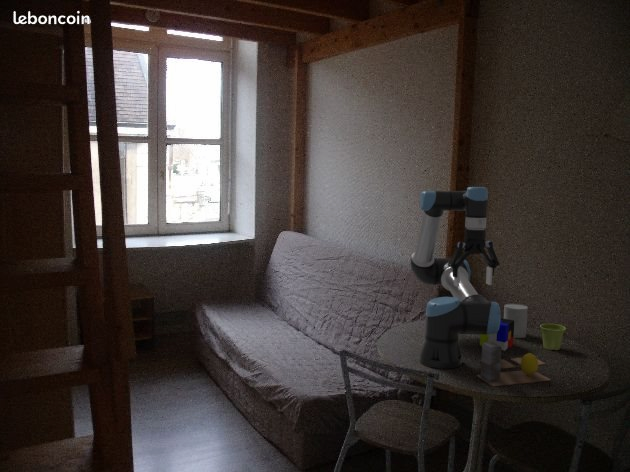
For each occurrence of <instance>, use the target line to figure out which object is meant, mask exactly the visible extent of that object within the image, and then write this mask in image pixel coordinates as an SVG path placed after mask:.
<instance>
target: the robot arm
mask: <svg viewBox="0 0 630 472" xmlns="http://www.w3.org/2000/svg"><path fill="white" fill-rule="evenodd" d="M488 192H489V191H488V188H487V187H486V186H485V187H484V186H469V187H467V188H466V190H424V191H422V192H421V193H420V197H419V207H420V210H422V211H423V212H422V216H421V221H420V227H419V232H418V236H417V240H416V244H415V245H416V246H415V251H414V252H413V253H412V254H411V257H410V268H411V271H412V274H413V275H414V276H415V278H416V279H417V280H419V281H418V282H421V283H422V284H425V285H428V286H442V287H443V288H444V289H446V290H447V291H449V292H450V294H451V295H452V296H441V297H439V296H438V297H434V298H432V299H430V300H429V301H428V302H427V303H426V308H425V329H424V330H425V332H424V333H425V335H424V342H423V344H422V346H421V349H420V350H421V351H420V353H419V362H420V363H421V364H422V365H424V366H427V367H430V368H436V369H455V368H459V367H461V366H462V364H463V356H462V353H461V349H460V345H459V335H480V334H487V335H488V334H496V333H497V332H498V330H499V327H500V320H501V318H502V317H501V308H500V304H499V302H497V301H488V299H487V298H486V297H485V296H483V295H481V294H479V293H478V292H477V290H476V289H475V287H474V286H473V285H472V283H471V282H470V280H471V267H470V265H469V262H468V261H467V260H466V259H467V257H468V256H470V255H475V254H476V255H480V256H481V257H482V258H483V260H484V262H485V263H486V264H487V266H486V275H485V284H486V285H488V286H492V285H493V276H494V275H495V269H496V268H497V266H500V262H499V259H498V257H497V255H496V252H495V249H494V243H493V241H490V240H486V236H487V231H486V229H487V215H488V200H489V193H488ZM444 211H446V212H447V211H462V212H463V211H464V212H465V221H464V227H465V229H464V242H462V241H457V242H456V247H455V249H454V251H453V254H452V255H451V257H450V258H448V257H446V258H445V257H444V258H443V257H434V253H435V249H436V244H437V240H438V237H439V232H440V227H441V223H442V220H443V214H444ZM485 247H486V249H485ZM486 250H487V251H486ZM487 253H488V254H487Z"/></svg>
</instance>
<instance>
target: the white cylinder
mask: <svg viewBox="0 0 630 472" xmlns="http://www.w3.org/2000/svg"><path fill="white" fill-rule="evenodd" d="M503 307H504V308H503V309H504V310H503V319H509V320H515V321H514V338H513V339H516V338H517V339H522V338H526V337H527V324H528V323H527V322H528V309H529V307H528V306H527V305H525V304H519V303H506V304H504V305H503Z"/></svg>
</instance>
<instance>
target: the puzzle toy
mask: <svg viewBox="0 0 630 472" xmlns="http://www.w3.org/2000/svg"><path fill="white" fill-rule="evenodd" d="M514 321H515V320H509V319H504V317H503V318H502V317H501V320H500V327H499V330H498V332H497V333H496V334H488V335H487V334H479V346H481V347H482V343H487V342H494V343H496V344H498V345H500V346H502V348H501V351H506V350H508V349H509V348H510V347H512V346H513V345H514V339H515V338H514Z"/></svg>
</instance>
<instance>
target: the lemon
mask: <svg viewBox="0 0 630 472" xmlns="http://www.w3.org/2000/svg"><path fill="white" fill-rule="evenodd" d="M521 358H522V360H521V365H520V368H521V371H522V370H523V372H524V373H526V374H527V375H528V376H530V375H531V374H534V373H535V372H537V371H538V370H539V369H538V368H539V365H538V360H539V359H538V358H537V356H536V355H534V354H532V353H531V352H528V353H526V354H524V355H523V356H522V357H521ZM537 359H538V360H537Z"/></svg>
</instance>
